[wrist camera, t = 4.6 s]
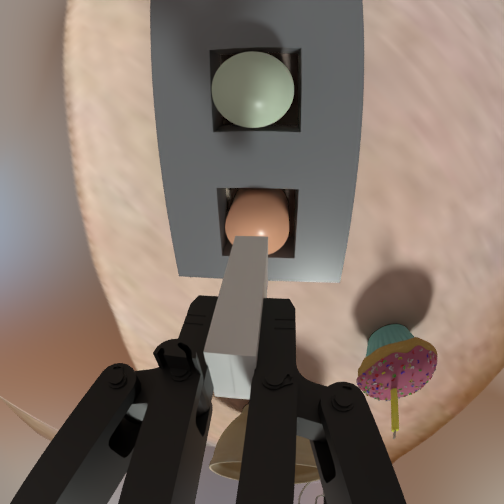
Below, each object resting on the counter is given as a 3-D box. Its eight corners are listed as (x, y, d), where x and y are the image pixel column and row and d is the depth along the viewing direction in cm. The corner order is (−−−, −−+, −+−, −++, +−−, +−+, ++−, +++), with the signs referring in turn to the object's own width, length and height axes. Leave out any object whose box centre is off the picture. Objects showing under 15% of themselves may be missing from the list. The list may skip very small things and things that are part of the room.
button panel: (170, -56, 10) (154, -71, 7) (343, -62, 9) (352, -79, 6) (189, 254, 24) (179, 276, 22) (334, 259, 23) (339, 282, 20)
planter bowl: (254, 372, 33) (244, 455, 24) (349, 403, 36) (355, 469, 27) (204, 412, 41) (192, 471, 32) (286, 435, 44) (283, 488, 35)
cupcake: (340, 358, 30) (350, 456, 20) (369, 305, 25) (397, 419, 15) (403, 361, 30) (423, 447, 20) (437, 312, 25) (475, 407, 15)
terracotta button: (232, 180, 20) (223, 199, 17) (289, 181, 20) (290, 200, 17) (234, 229, 22) (227, 254, 19) (287, 231, 22) (287, 256, 19)
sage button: (223, 59, 14) (210, 54, 11) (291, 58, 14) (293, 51, 11) (225, 120, 16) (213, 128, 14) (291, 120, 16) (293, 128, 13)
